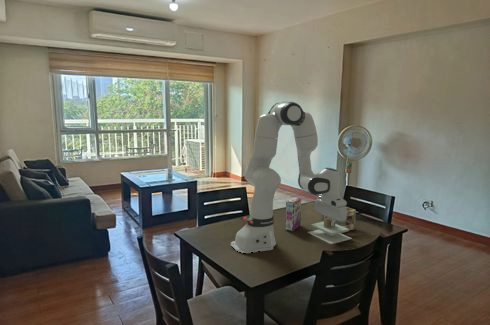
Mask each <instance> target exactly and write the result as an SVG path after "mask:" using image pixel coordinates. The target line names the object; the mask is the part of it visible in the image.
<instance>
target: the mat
mask: <svg viewBox="0 0 490 325" xmlns="http://www.w3.org/2000/svg"><path fill="white" fill-rule="evenodd" d="M307 234H310V235H311V236H313V237H315V238H317V239H318V240H322V241H324V243H325V242H326V243H327V244H329V245H333V244H337V243H342V242H345V241H349V240H352V237H350V236H347V235H346V234H343V233H339V234H335V235H330V234H327V233H325V232H323V231H321V230H319V229H314V230H311V231H307Z"/></svg>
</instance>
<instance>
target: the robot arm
mask: <svg viewBox="0 0 490 325" xmlns="http://www.w3.org/2000/svg"><path fill="white" fill-rule="evenodd" d="M282 126H291V128H292V131H293V136H294V143H295V146H296V152H297V153H296V154H297V162H298V170H299V174H298V178H297V184H298V186H299V188H300V189H302V190H303V191H306V192H308V193H310V194H311V195H313V196H317V197H316V199H315V204H314V211H315V212H316V213H317V214H320V215H321V216H322V215H324V219H325V220H328V218H331V220H332V221H331V222H330V226H334V222H335V221H336V220H338V221H340V222H342V221H345V220H346V221H347V218H348V216H347V208H346V207H347V204H348V202H347V201H346V200H345V199H344V198H342V197H341V196H340V190H339V189H340V185H341V184H340V180H341V179H340V172H339V171H338V170H337V169H335V168H331V167H324V168H323V169H322V170H321V171H319V172H317V173H314V172H313V170H312V161H311V154H312V152H315V150H316V149H317V147H318V144H319V143H318V142H319V138H318V132H317V129H316V124H315V121H314V118H313V116H312V114H311V113H310V112H306V111H304V110H303V108H302V106H300V104H299V103H297V102H294V101H281V102H277V103H275V104H273V105H272V106H271V107H270V109H269V111H268V112H267V113H264V114H261V115H260V116H259V118H258V120H257V124H256V127H255V131H254V132H255V133H254V139H253V140H254V141H253V148H252V153H251V157H250V159H249V162H248V165H247V166H246V168H245V169H244V170H243V171H244V173H243V176H244V179H245V180H246V182H247V183H248V184H250V186H253V188H254V191H253V194H252V197H251V198H250V200H249V208H250V209H249V212H250V214H249V217H247V216H243V219H242V220H243V221H244V222H247V223H246V224H245V225H244V226H243V227H242V228H241V229H239V230H238V231H237V232H236V234H235V239H234V240H233V241H231V242H230V247H231V246H232V247H233V248H234V249H235V250H234V249H233V248H232V247H231V248H232V249H233V250H234V251H235V252H237V251H238V253H239V252H241V253H240V254H243V253H246V254H252V253H251V252H253V253H259V252H258V251H260V252H267V251H273V250H274V247H275V246H276V244H277V242H276V238H275V232H274V224H275V222H274V221H275V219H274V214H273V213H274V199H275V198H274V197H275V194H276V191H277V190H278V189H279V188H280V186H281V183H282V179H281V175H280V174H279V173H278V172H277V171H276V170H274V169H273V168H271V167H270V166H271V163H272V160H273V159H274V157H275V156H276V155H277V148H278V139H279V131H280V130H281V129H280V128H281V127H282Z"/></svg>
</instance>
